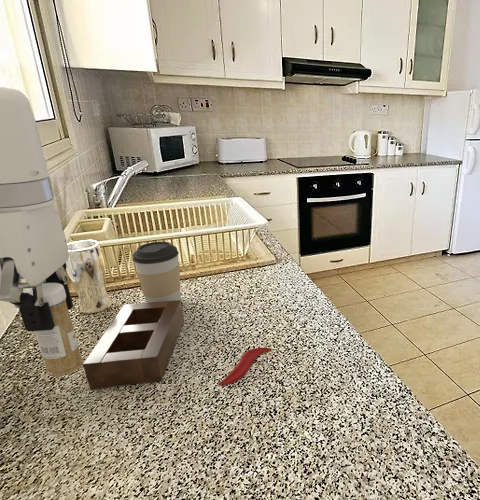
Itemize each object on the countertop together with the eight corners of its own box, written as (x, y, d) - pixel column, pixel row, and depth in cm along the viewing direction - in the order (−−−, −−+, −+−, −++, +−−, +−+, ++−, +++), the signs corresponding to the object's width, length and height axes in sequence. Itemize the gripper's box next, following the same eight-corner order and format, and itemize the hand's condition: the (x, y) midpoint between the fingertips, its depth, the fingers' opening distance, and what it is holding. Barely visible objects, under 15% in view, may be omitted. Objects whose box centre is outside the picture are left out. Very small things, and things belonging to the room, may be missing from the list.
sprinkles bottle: (91, 361, 58) (71, 284, 53) (63, 381, 54) (39, 299, 49) (67, 356, 59) (45, 279, 54) (38, 374, 55) (12, 293, 50)
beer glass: (120, 304, 86) (106, 244, 80) (87, 318, 80) (69, 253, 75) (104, 296, 89) (90, 237, 84) (71, 308, 84) (54, 246, 78)
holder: (89, 389, 61) (82, 364, 59) (128, 325, 78) (124, 304, 76) (162, 381, 63) (157, 356, 61) (184, 320, 81) (180, 299, 79)
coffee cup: (133, 310, 84) (120, 248, 78) (166, 293, 92) (155, 235, 86) (164, 319, 81) (152, 255, 75) (194, 300, 88) (186, 241, 83)
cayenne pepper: (263, 345, 73) (263, 336, 72) (279, 355, 70) (278, 346, 70) (207, 376, 64) (206, 367, 64) (223, 389, 62) (221, 379, 61)
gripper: (20, 179, 53) (51, 292, 60) (-78, 212, 38) (-21, 359, 45) (79, 180, 55) (103, 290, 62) (8, 211, 40) (50, 353, 46)
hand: (51, 317), depth 53 cm, fingers closed on sprinkles bottle, 4 cm apart
